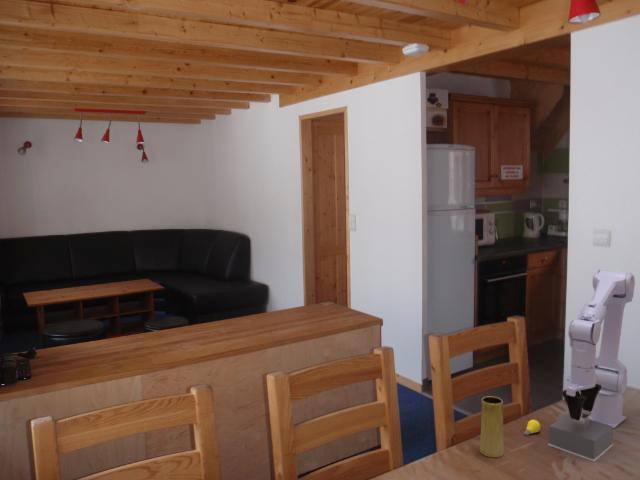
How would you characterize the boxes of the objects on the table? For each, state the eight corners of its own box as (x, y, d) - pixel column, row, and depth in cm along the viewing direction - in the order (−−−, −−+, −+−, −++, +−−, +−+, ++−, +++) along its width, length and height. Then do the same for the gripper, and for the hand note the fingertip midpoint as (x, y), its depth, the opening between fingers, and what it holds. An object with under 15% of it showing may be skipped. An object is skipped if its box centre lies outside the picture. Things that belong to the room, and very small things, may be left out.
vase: (505, 458, 140) (506, 405, 138) (480, 456, 141) (481, 404, 140) (502, 447, 146) (503, 396, 144) (478, 445, 147) (479, 394, 146)
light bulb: (541, 430, 155) (543, 421, 153) (529, 442, 152) (531, 433, 150) (531, 423, 157) (532, 414, 156) (519, 435, 154) (520, 426, 152)
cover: (568, 429, 154) (569, 402, 153) (612, 444, 146) (613, 415, 145) (549, 443, 147) (549, 415, 146) (594, 459, 138) (595, 429, 137)
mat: (567, 430, 154) (567, 429, 154) (613, 445, 146) (613, 444, 146) (547, 445, 147) (548, 443, 147) (594, 461, 138) (594, 460, 138)
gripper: (579, 355, 151) (577, 402, 153) (555, 367, 142) (553, 418, 143) (606, 361, 146) (604, 409, 148) (583, 374, 136) (581, 426, 138)
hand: (581, 414), depth 145 cm, fingers open, 7 cm apart
